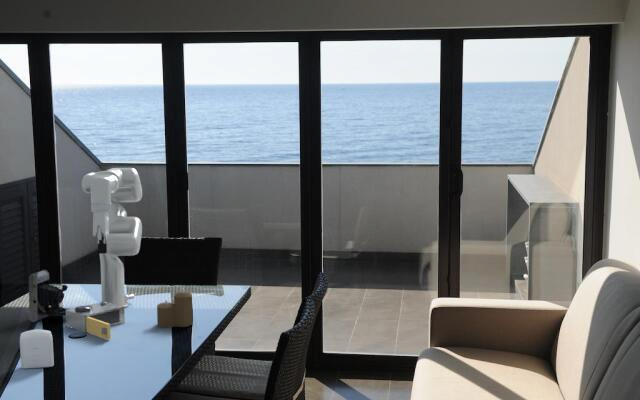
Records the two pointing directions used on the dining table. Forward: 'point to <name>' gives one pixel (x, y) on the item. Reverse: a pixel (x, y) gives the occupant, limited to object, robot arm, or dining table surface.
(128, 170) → the robot arm
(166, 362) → the dining table surface
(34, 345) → the photo printer
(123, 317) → the aluminium camera mock-up
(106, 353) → the dining table surface
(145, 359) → the dining table surface
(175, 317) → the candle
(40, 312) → the vintage camera
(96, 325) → the ochre side door
